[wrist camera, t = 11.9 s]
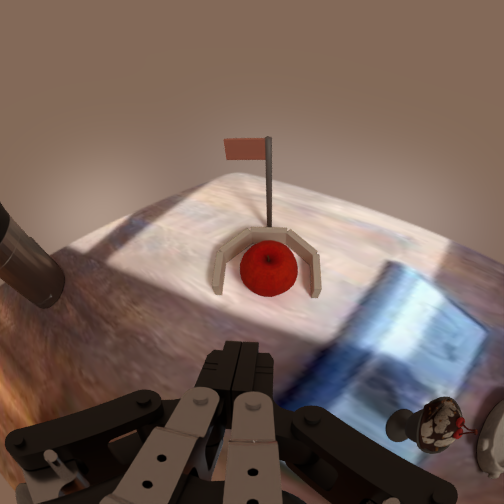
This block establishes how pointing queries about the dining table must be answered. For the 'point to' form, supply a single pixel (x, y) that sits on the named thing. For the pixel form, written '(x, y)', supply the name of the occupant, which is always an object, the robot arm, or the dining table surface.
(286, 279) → the apple
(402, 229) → the dining table surface
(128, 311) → the dining table surface
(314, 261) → the cup
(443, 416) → the sundae
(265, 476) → the robot arm
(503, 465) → the dish
